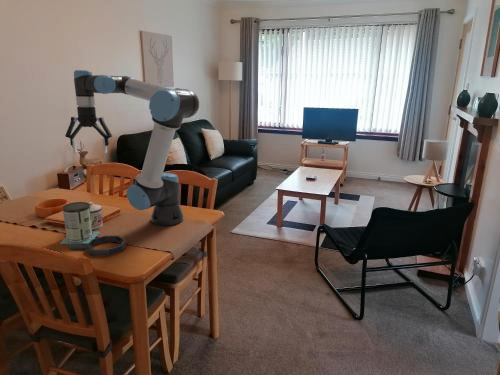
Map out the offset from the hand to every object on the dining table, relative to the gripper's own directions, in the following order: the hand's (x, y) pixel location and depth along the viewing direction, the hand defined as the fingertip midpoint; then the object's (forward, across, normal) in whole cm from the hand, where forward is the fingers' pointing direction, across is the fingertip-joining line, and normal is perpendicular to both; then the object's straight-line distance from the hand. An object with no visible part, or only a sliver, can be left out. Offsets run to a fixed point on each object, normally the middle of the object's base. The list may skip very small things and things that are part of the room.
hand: (90, 152), depth 168 cm
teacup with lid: (+32, -3, +12) cm, 34 cm away
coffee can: (+31, -2, +26) cm, 41 cm away
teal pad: (+32, -2, +26) cm, 41 cm away
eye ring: (+32, -12, +36) cm, 50 cm away
